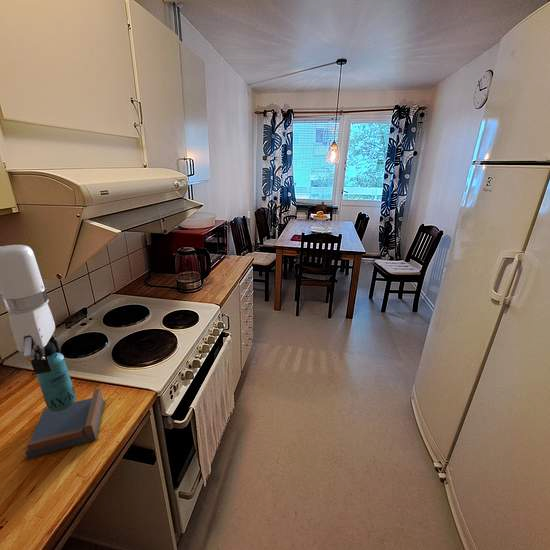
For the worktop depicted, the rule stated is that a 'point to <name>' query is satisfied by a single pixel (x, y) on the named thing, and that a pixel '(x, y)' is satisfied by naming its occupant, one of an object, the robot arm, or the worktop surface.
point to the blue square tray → (67, 426)
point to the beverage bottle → (56, 381)
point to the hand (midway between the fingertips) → (48, 362)
